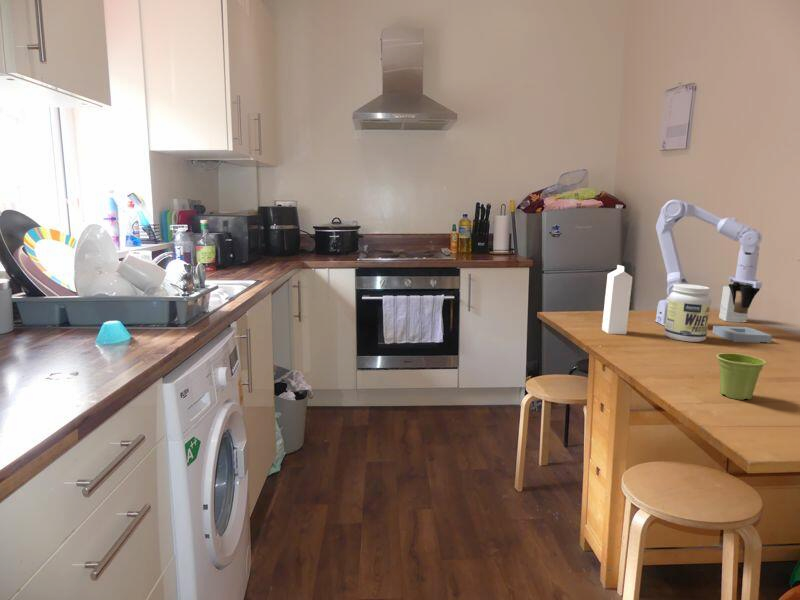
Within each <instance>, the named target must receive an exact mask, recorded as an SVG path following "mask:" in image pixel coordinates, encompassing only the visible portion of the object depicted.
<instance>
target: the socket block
mask: <svg viewBox="0 0 800 600" xmlns="http://www.w3.org/2000/svg"><path fill="white" fill-rule="evenodd" d="M712 334H713V335H716V336H719V337H721V338H723V339H725V340H728V341H731V343H755V344H761V343H760V342H767V343H766V344H771V343H772V336H773V335H771V334H769V333H767V332H763V331H760V330H757V329H755V328H752V327H751V326H750V327H749V326H729V325H728V326H726V325H713V326H712Z"/></svg>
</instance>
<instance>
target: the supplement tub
mask: <svg viewBox="0 0 800 600" xmlns="http://www.w3.org/2000/svg"><path fill="white" fill-rule="evenodd" d="M710 289H711V288H710V287H708V286H704V285H697V284H690V283H689V284H674V286H673V289H672V290H673V291H674V292H673V293H671V294H670V295H669V301H668V310H667V317H666V324H665V326H664V331H663V332H664V335H665V336H666V337H668V338H669V339H672V340H676V341H682V342H688V343H689V342H690V343H691V342H692V343H699V342H703V341H705V340H706V339H707V335H708V334H707V333H708V326H709V319H710V310H711V306H712V299H711V297H710V296H709V294H710V293H711V291H710Z"/></svg>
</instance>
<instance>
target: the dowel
mask: <svg viewBox="0 0 800 600" xmlns="http://www.w3.org/2000/svg"><path fill="white" fill-rule="evenodd" d="M741 301H742V295H741V291H736V298H735V305H734V312H736V313H743V314H747V315H748V313H749V308H742V306H741ZM747 312H748V313H747Z"/></svg>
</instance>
